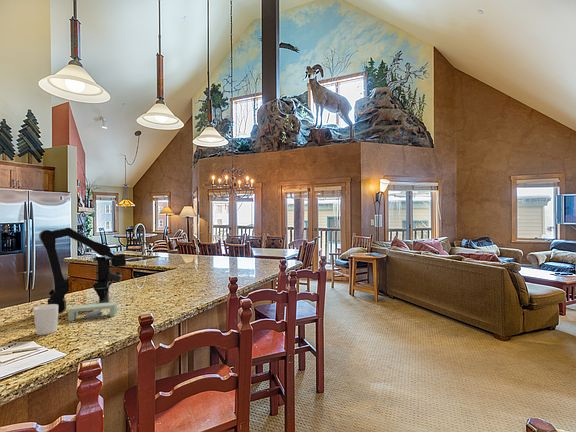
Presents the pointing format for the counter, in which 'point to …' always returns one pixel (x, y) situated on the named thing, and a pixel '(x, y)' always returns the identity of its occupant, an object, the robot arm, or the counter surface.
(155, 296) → the counter surface
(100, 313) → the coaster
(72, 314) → the bracket
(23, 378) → the counter surface
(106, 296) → the grey hammer
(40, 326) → the white cup
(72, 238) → the robot arm
